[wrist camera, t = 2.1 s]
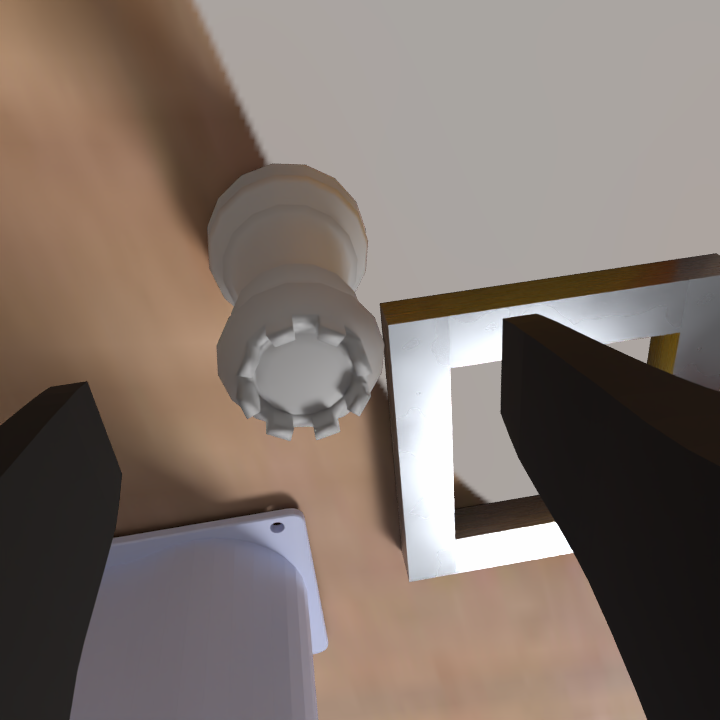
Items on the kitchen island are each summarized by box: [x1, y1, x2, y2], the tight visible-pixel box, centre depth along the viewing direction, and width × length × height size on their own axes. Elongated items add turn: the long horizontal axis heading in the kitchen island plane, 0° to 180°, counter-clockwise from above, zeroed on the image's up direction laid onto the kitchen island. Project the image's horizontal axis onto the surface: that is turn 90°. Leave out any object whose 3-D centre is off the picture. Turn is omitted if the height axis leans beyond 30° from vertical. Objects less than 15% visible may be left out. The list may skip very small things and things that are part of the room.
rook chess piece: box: [207, 164, 384, 441], centre depth 15 cm, size 4×4×8 cm
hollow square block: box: [380, 254, 720, 582], centre depth 23 cm, size 11×11×2 cm
